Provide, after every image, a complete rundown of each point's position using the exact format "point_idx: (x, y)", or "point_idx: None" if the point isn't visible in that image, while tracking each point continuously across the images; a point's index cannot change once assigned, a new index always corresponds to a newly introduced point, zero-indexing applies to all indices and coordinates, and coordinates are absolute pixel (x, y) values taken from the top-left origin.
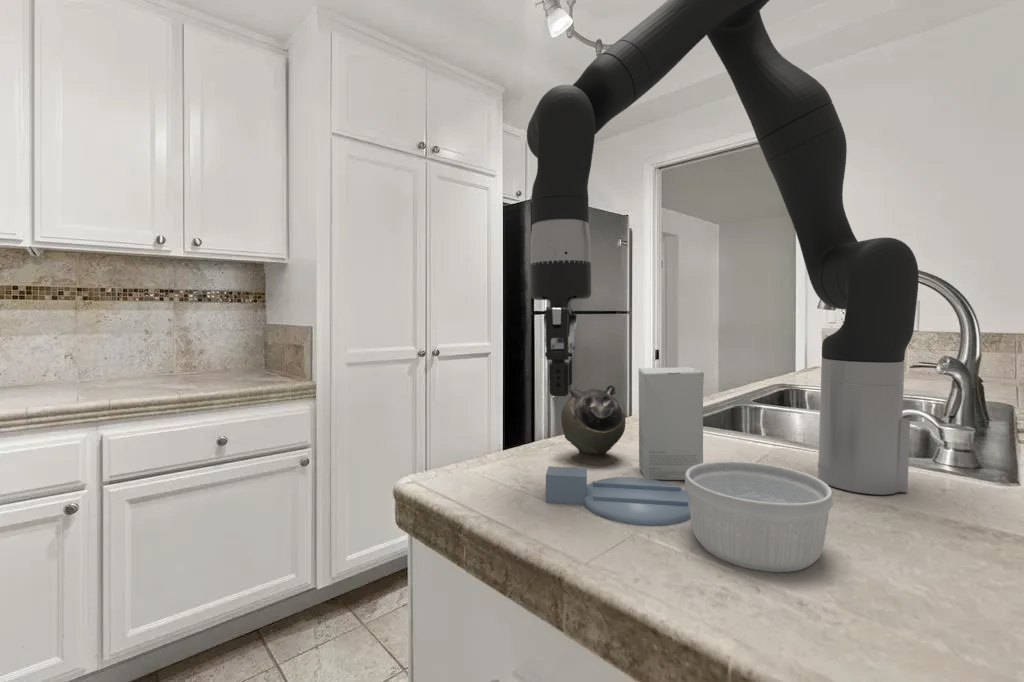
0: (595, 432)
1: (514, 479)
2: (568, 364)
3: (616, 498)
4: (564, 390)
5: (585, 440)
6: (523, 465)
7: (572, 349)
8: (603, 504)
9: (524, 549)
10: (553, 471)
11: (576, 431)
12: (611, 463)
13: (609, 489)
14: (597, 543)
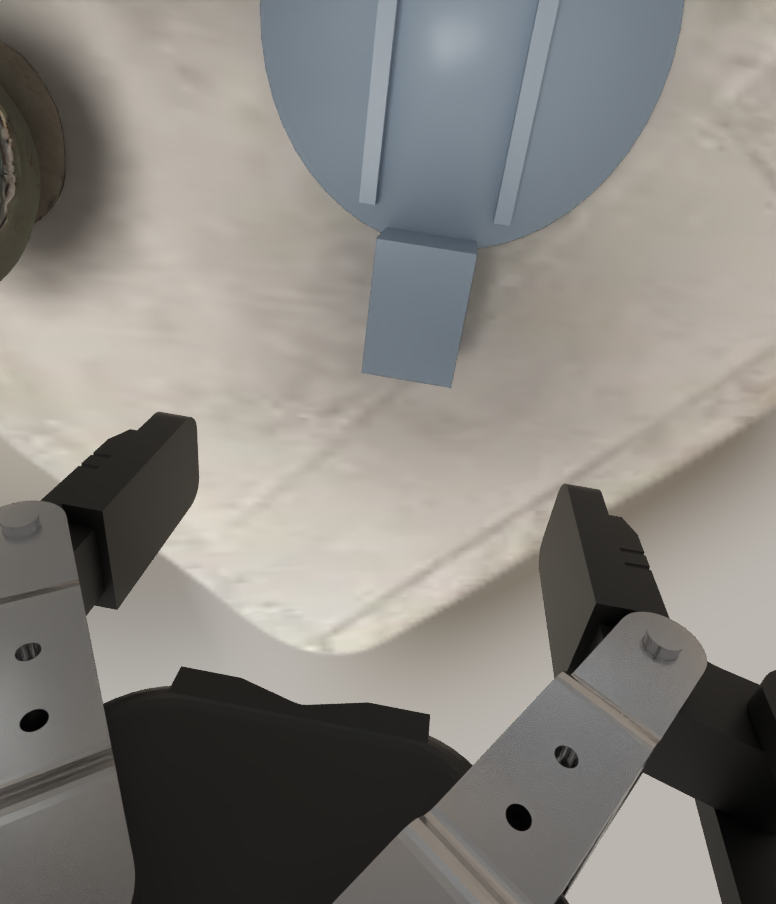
0: (20, 159)
1: (273, 430)
2: (608, 604)
3: (528, 139)
4: (625, 523)
5: (37, 201)
6: (138, 401)
7: (57, 556)
8: (547, 191)
9: (741, 423)
10: (418, 361)
11: (18, 249)
12: (27, 64)
13: (405, 143)
14: (755, 242)
